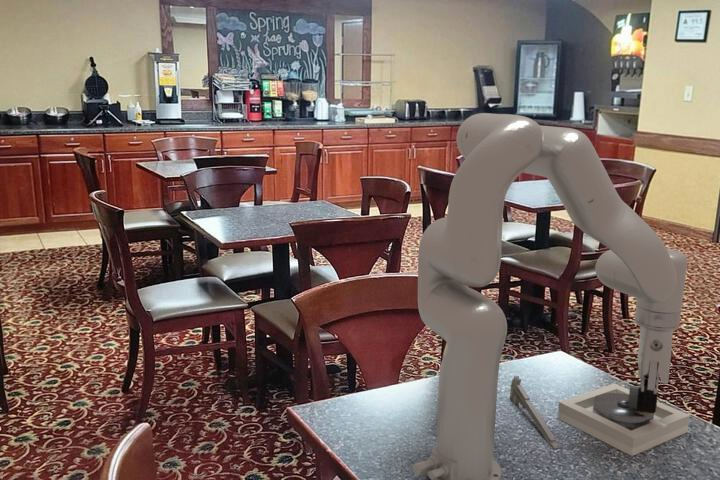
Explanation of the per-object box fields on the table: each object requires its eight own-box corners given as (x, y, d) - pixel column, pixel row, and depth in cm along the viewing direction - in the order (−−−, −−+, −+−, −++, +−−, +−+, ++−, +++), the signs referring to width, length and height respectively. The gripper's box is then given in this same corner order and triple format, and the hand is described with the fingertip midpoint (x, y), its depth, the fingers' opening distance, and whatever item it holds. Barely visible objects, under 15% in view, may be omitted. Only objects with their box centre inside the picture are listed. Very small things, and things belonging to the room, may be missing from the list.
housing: (633, 457, 123) (636, 437, 122) (557, 418, 137) (559, 400, 136) (690, 432, 132) (693, 413, 132) (613, 398, 147) (615, 381, 146)
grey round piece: (589, 422, 132) (592, 390, 130) (596, 400, 142) (598, 370, 140) (653, 435, 127) (657, 402, 126) (655, 411, 137) (659, 380, 136)
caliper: (509, 401, 145) (511, 373, 144) (514, 401, 145) (516, 372, 144) (553, 450, 126) (555, 418, 124) (558, 449, 126) (561, 417, 124)
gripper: (683, 332, 118) (670, 431, 121) (676, 308, 131) (664, 397, 135) (636, 326, 120) (625, 423, 124) (634, 303, 134) (623, 391, 138)
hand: (645, 410), depth 130 cm, fingers closed
